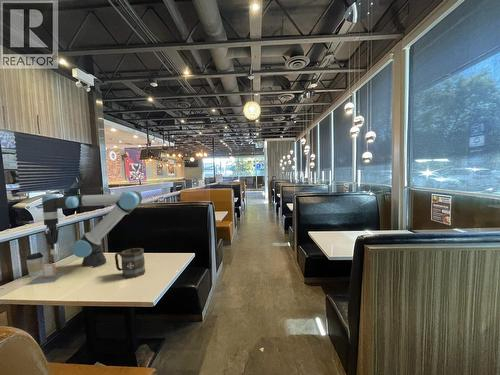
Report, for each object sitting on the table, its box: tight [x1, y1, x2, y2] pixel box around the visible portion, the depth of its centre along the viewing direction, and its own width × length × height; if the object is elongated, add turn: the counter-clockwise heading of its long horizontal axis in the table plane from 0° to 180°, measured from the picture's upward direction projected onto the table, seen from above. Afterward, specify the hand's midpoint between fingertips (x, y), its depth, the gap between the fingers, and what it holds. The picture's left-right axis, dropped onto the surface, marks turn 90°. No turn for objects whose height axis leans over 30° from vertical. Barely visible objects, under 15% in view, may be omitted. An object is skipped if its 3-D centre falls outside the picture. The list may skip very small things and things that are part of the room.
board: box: [24, 272, 69, 286], centre depth 162 cm, size 16×16×1 cm
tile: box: [42, 263, 57, 278], centre depth 165 cm, size 6×2×8 cm, turn 100°
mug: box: [114, 247, 146, 279], centre depth 165 cm, size 20×14×15 cm
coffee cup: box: [25, 251, 45, 278], centre depth 170 cm, size 9×9×15 cm
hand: (53, 253), depth 171 cm, fingers closed
